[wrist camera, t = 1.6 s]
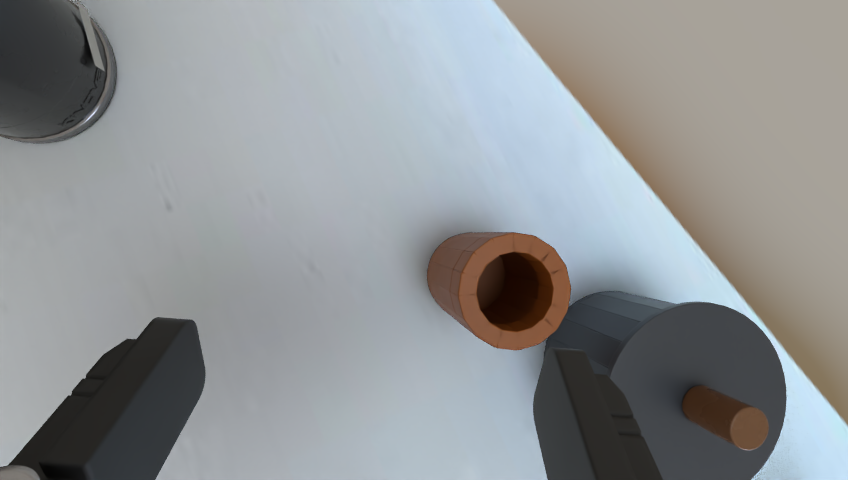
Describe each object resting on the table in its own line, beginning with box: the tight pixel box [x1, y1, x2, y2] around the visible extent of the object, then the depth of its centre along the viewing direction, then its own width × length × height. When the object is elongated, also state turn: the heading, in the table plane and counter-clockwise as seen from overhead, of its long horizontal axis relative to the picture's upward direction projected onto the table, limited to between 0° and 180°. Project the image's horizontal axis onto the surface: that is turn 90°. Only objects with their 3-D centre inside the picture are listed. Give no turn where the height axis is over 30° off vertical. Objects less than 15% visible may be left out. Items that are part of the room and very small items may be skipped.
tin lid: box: [606, 302, 786, 480], centre depth 26 cm, size 12×12×5 cm
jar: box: [427, 232, 571, 350], centre depth 30 cm, size 6×6×10 cm
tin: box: [544, 291, 675, 375], centre depth 32 cm, size 11×11×9 cm
